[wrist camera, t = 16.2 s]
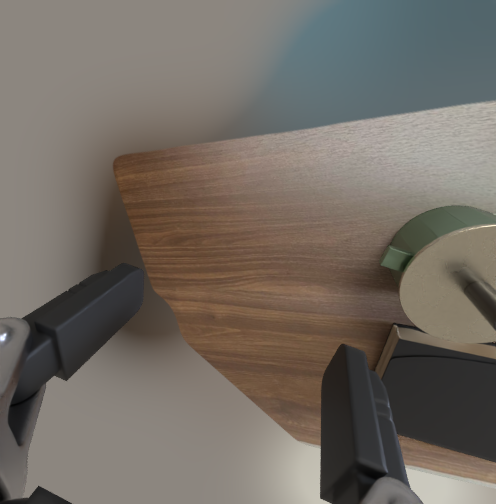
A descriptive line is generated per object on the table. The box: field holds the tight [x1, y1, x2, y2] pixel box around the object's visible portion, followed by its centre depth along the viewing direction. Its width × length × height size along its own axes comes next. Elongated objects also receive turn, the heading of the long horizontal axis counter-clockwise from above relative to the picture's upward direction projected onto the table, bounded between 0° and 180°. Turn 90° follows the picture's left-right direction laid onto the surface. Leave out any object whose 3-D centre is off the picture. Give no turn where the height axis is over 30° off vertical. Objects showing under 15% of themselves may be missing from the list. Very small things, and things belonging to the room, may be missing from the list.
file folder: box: [374, 323, 496, 462], centre depth 41 cm, size 33×4×24 cm
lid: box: [399, 224, 496, 343], centre depth 25 cm, size 15×15×7 cm
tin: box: [379, 206, 496, 289], centre depth 31 cm, size 14×19×8 cm
